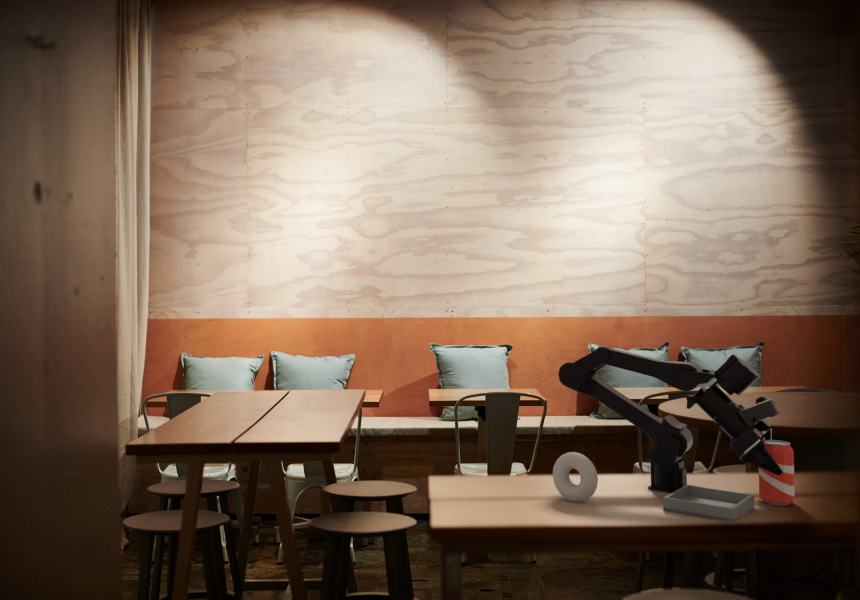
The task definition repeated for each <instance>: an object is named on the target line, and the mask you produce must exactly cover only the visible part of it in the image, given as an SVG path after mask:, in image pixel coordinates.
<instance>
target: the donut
mask: <svg viewBox="0 0 860 600" xmlns="http://www.w3.org/2000/svg"><path fill="white" fill-rule="evenodd" d="M573 469H574V470H575V471H577V472H578V474H579V477H580V482H579V484H574V483H573V482H572V481H571V478H570V471H571V470H573ZM552 480H553V483H554V486H555V488H556V490H557V491H558V492H559V494H560V495H561V496H562V497H563V498H564V499H566V500H568V501H571V502H575V503H582V502H585V501H588V500H589V499H591V497H592V496H593V495H595V493H596V490H597V488H598V482H599V477H598V472H597V469H596V467H595V465H594V463H593V462H592V461H591V460H590V459H589V458H588V457H587V456H585V455H584V453H583V454H582V453H580V452H576V451H570V452H565V453H563V454H562V455H560V456H559V457H558V458H557V459H556V461H555V462H554V465H553V469H552Z"/></svg>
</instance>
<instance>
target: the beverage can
mask: <svg viewBox="0 0 860 600" xmlns="http://www.w3.org/2000/svg"><path fill="white" fill-rule="evenodd" d="M765 448H766V450H767V451H768V452H769V454H770V455H771V456H772V458H773V459H774V460H775V461H776V463H777V464H778V465H779V467H780V468H781V469H782V471H783V473H782V474H781V475H780V476H778V475H776V474H774V473H772V472H769V471H767V470H765V469H763V468H761V467H758V494H759V495H758V498H759V499H760V500H762V501H763V502H764V503H766V504H767V503H768V505H771V506H772V505H773V506H779V507H780V506H783V507H784V506H789V505H790V504H792V503H794V502H795V498H796V496H795V464H794V463H795V457H794V456H795V455H794V452H795V451H794V449H793V448H792V446H791V442H788V441H784V440H778V439H777V440H775V439H772V440H765Z"/></svg>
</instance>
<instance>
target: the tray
mask: <svg viewBox="0 0 860 600" xmlns="http://www.w3.org/2000/svg"><path fill="white" fill-rule="evenodd" d="M662 500H663V501H662V503H663V505H662V506H663V507H662V508H663V512H669V513H670V512H671V513H675V514H681V515H686V516H693V517H698V518H703V519H704V518H705V519H709V520H715V521H721V522H727V523H732V524H735V523H736V522H738V521H739V520H740V519H742V518H743V517H744V516H745V515H747V514H748V513H749V512H750V511H752V510H753V509H755V494H754V493H747V492H740V491H732V490H725V489H720V488H712V487H705V486H701V485H692V484H687V485H686V486H684V487H682V488H680V489H678V490H676V491H674V492H673V493H669V494H667V495H665V496H664V497H663V498H662Z"/></svg>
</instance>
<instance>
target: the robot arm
mask: <svg viewBox="0 0 860 600" xmlns="http://www.w3.org/2000/svg"><path fill="white" fill-rule="evenodd" d="M605 366H610V367H614V368H617V369H621V370H625V371H629V372H632V373H637V374H641V375H644V376H649V377H651V378H655V379H658V380H659V381H661V382H663V383H664V384H666V385H668V386H670V387H672V388H675V389H677V390H679V391H682V392H690V391H692V390H695V389H697V388H698V387H700V386H701V385H703V384H708V383H710V382H713V381H714V380H715V379H716V380H715V381H714V382H713V383H712V384H711V385H710V386H709V387H708V388H707V387H705V386H702V387H700V388H699V389H698V390H696V392H695V393H694V394H693V395H692V394H688V395H686V396H685V399H686V409H687V410H690V409H691V408H693V407H695V406H696V405H697V406H698V407H699V408H700V410H702V411H703V412H704V413H705V414H706V415H707V416H708V417H709V418H710V419H711V420H712V421H713V422H714V426H715V427H716V428H717V429H722V431H724V433H726V435H728V437H729V438H730V439H729V441H730V443H729V444H728V448H729V449H728V451H729V453H730V454H731V455H733V457H734V458H735V459H738V458H739V460H740V461H744V462H746V463H748V464H752V465H753V466H756V467H758V468H759V467H761V468H763V469H765V470H767V471H769V472H772V473H774V474H776V475H778V476H780V475H781V474H782V473H783V471H782V469H781V468H780V467H779V465H778V464H777V463H776V461H775V460H774V459H773V458H772V456H771V455H770V454H769V452H768V451H767V450H766V448H765V440H773V437H772V435H773V433H772V432H773V428H772V427H771V424H770V423H769V422H768V421H767V420H766V419H767V418H772V417H775V416H779V414H780V410H779V408H778V406H777V403H776V401H775V400H774V399H773V398H772V397H770V398H767V397H766V396H765V395H761V396H758V397H756V398H755V403H754V404H752V405H751V406H747V407H745V406H744V405H743V404H742V403H741V404H740V403H738V404H737V403H736V402H735V401H733V399H732V398H731V397H730V396H733V395H734V394H736V395H737V396H741V395H742V394H743V393H744V392H745V391H746V390H748V388H749V387H751V386H752V385H753V384H754V383H755V382H756V381H758V380H759V379H760V378H761V376H760V374H759V372H757V371H756V370H755V368H753V366H751V365H750V364H749V363H746V362H745V361H744V360H743V359H741V358H740V357H738V355H737V354H731V355H730V356H729V357H728V358H727V359H726V360H725V362H724V363H723V364H722V365H721V366H720V367H718V368H717V370H713V369H705V368H702V367H701V366H700V365H699V364H697V363H695V362H690V361H677V360H661V359H656V358H653V357H648V356H644V355H640V354H638V353H634V352H633V353H632V352H629V351H624V350H620V349H616V348H613V347H612V346H610V345H609V346H608V345H605V346H604V345H602V346H599V347H597V348H596V349H595V350H593V351H591V352H590V353H588V354H586V355H584V356H583V357H581V358H579V359H577V360H575V361H569V362H565V363H563V364H562V365H561V366H560V367H559V369H558V375H557V376H558V380H559V382H560V383H561V384H562V385H563V386H564V387H566V388H569V389H571V390H573V391H575V392H578V393H581V394H583V395H587V396H590V397H592V398H593V399H595V400H597V401H598V402H599V403H601V404H602V405H604V406H605V407H606V408H608V409H610V410H611V411H613V412H615V414H617V415H619V416H620V417H622V418H623V419H625V420H626V421H627V422H629V423H631V424H632V425H634V426H635V427H637V428H638V429H639V430H641V431H643V432H644V433H645V435H647V436H648V438H649V439H650V441H651V442H652V443H653V444H654V445H655V447H654V448H653V449H651V450H650V451H649V453H648V457H649V459H650V485H649V486H647V490H651V491H657V492H662V493H663V492H664V493H669V494H671V493H673V492H674V491H676V490H678V489H680V488H682V487H684V486H686V485H688V480H687V479H688V476H687V468H685V460H682V458H683V457H684V454H685V453H686V452H687V451H689V450H690V449H691V448H692V446H693V443H694V438H693V433H692V432H691V430H689V429H688V428H687V426H688V425H687V424H686V423H682V422H680V421H679V420H677V419H676V417H674V416H673V415H671V414H669V415H667V416H665V417H663V418H662V417H660V416H657V415H655V414H653V413H652V412H651V411H649V410H648V409H646V408H645V407H643V406H641V404H638V403H636V401H633V400H632V399H631V398H629V397H628V396H625V394H623V393H621V392H620V391H619V390H618V389H615V388H614V387H613V386H611V385H609V384H608V383H606V382H605V381H604V380H602V378H601V377H600V375H598V373H597V372H598V371H600V370H601V369H602V368H604V367H605ZM718 385H719V386H720V387H721V388H720V387H719V386H718ZM722 389H723V390H722ZM724 391H725V392H724ZM729 395H730V396H729ZM680 459H681V460H680Z"/></svg>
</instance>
